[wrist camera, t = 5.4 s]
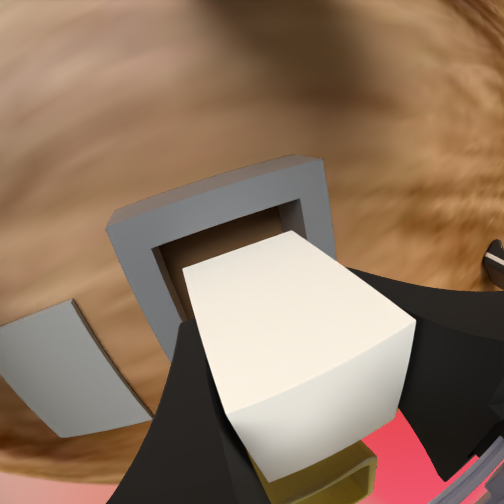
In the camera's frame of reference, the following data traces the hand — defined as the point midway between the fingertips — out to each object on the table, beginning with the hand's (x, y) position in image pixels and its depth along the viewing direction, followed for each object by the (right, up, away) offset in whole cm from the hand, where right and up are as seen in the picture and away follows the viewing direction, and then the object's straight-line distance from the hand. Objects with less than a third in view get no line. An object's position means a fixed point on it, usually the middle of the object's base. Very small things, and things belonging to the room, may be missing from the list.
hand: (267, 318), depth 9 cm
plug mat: (-11, -5, +3) cm, 13 cm away
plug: (-1, 0, +1) cm, 2 cm away
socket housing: (-2, +2, +4) cm, 5 cm away
